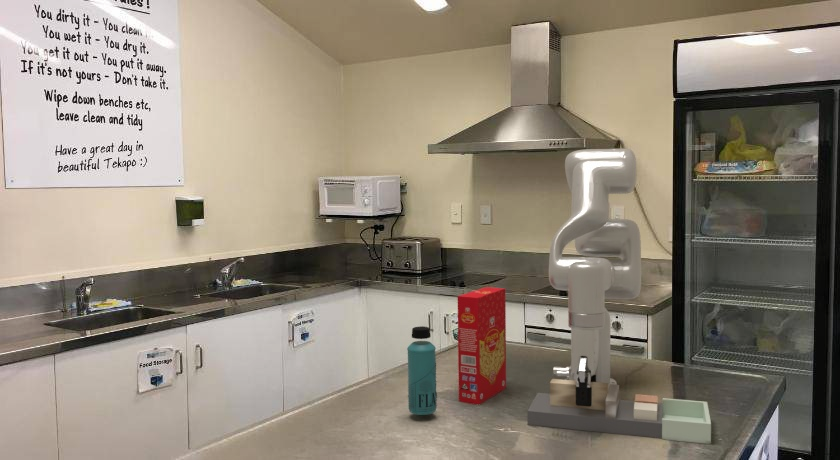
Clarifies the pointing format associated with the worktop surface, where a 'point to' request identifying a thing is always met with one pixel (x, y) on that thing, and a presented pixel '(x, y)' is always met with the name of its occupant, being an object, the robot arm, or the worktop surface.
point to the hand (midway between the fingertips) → (586, 398)
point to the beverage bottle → (421, 373)
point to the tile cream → (645, 411)
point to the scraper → (601, 396)
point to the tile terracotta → (646, 399)
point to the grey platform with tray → (629, 419)
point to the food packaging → (481, 344)
